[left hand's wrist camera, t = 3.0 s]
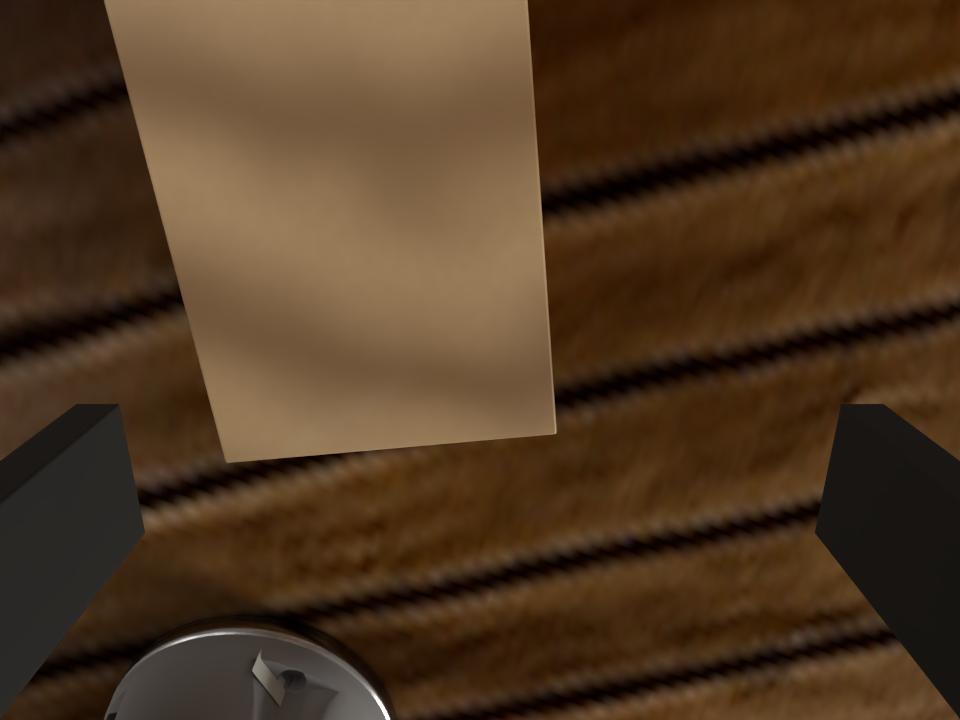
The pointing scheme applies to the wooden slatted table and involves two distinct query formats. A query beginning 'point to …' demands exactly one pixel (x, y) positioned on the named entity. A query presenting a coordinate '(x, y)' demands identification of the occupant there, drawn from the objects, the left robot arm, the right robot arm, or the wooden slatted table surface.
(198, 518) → the wooden slatted table surface
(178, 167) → the cabinet
